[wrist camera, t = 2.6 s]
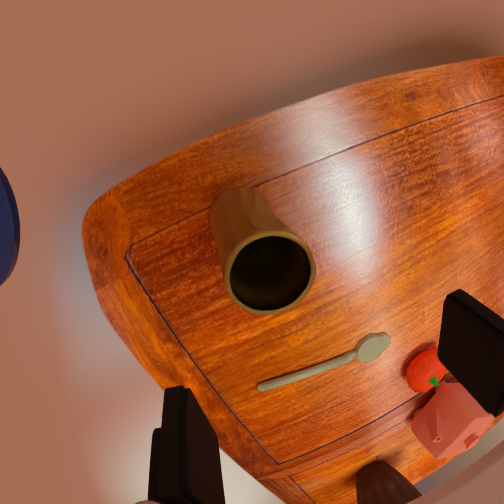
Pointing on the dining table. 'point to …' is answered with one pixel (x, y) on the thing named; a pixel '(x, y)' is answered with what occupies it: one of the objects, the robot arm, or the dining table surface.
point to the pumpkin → (425, 371)
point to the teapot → (450, 421)
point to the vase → (259, 253)
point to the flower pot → (383, 485)
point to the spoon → (336, 360)
